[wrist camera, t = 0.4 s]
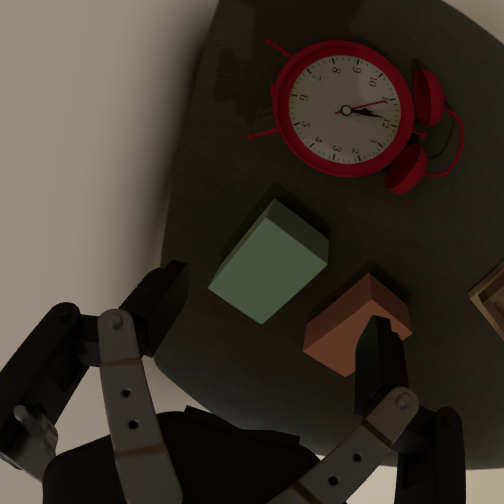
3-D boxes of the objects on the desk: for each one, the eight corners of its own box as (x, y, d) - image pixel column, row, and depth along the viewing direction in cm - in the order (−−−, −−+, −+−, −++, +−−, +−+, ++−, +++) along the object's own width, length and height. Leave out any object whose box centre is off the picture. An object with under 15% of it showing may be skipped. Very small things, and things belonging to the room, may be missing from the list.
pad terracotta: (368, 271, 27) (371, 299, 24) (407, 305, 28) (413, 333, 25) (306, 323, 32) (302, 351, 29) (345, 349, 33) (344, 377, 30)
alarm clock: (262, 16, 15) (497, 85, 11) (294, 34, 20) (474, 89, 16) (237, 159, 21) (445, 238, 17) (271, 146, 26) (436, 207, 22)
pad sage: (274, 197, 26) (265, 217, 23) (329, 239, 27) (328, 264, 23) (221, 264, 31) (207, 288, 27) (269, 298, 32) (261, 324, 28)
